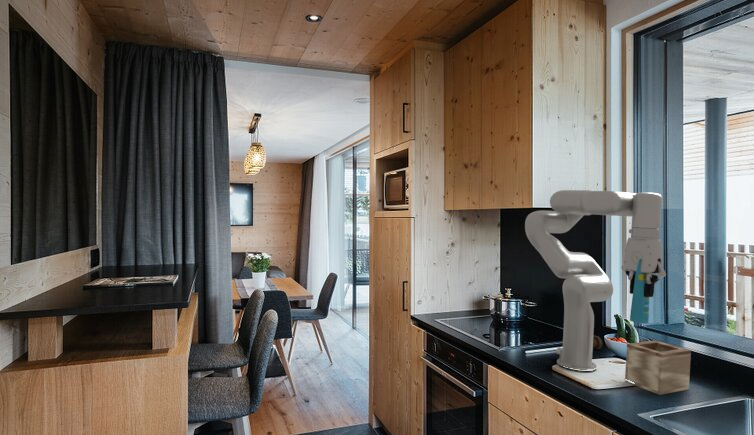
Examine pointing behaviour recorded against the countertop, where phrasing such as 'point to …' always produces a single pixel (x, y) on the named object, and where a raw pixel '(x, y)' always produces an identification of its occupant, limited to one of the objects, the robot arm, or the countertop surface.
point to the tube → (639, 298)
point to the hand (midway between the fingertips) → (641, 294)
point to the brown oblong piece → (597, 342)
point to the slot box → (658, 366)
